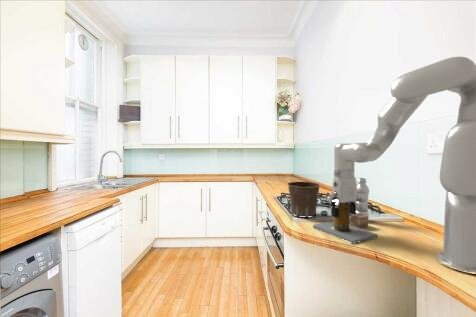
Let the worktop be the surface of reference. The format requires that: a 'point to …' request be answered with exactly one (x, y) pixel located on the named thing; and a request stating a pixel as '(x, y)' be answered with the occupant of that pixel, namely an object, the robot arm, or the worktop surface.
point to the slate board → (351, 237)
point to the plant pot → (303, 198)
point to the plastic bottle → (362, 197)
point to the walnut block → (359, 220)
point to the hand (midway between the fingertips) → (343, 215)
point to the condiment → (343, 219)
